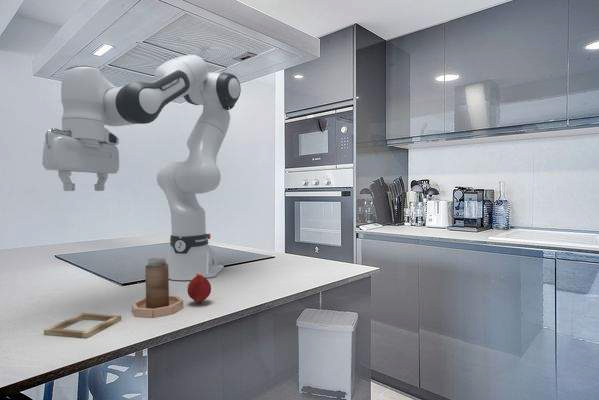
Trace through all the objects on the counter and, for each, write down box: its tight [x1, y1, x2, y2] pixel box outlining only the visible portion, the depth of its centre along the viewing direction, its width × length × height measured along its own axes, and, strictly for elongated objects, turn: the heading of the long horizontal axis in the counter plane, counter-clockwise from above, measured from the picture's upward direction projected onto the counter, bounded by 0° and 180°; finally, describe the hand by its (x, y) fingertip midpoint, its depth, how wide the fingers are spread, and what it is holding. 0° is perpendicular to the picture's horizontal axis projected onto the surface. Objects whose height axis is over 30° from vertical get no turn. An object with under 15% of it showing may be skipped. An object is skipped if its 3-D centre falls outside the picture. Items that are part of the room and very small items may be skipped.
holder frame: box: [43, 312, 122, 339], centre depth 76 cm, size 10×10×1 cm
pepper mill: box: [145, 257, 170, 309], centre depth 87 cm, size 5×5×12 cm
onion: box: [187, 272, 212, 304], centre depth 92 cm, size 6×6×8 cm
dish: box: [131, 294, 184, 318], centre depth 87 cm, size 11×11×2 cm
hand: (85, 191), depth 87 cm, fingers open, 8 cm apart
